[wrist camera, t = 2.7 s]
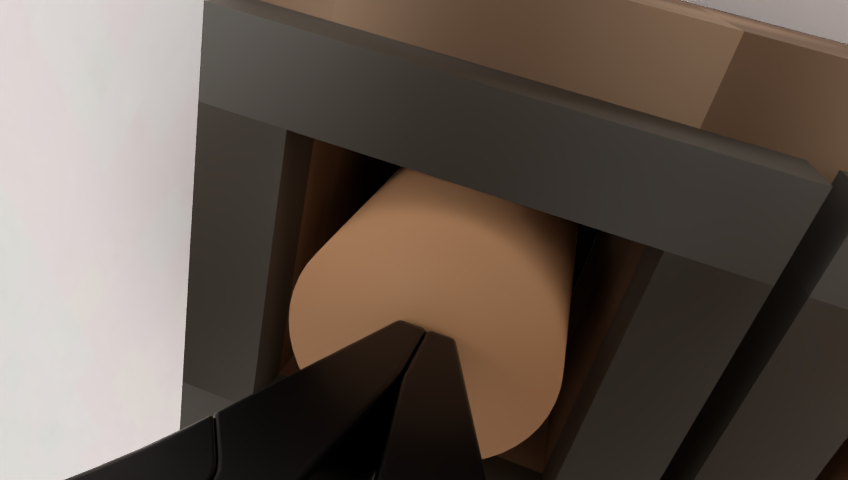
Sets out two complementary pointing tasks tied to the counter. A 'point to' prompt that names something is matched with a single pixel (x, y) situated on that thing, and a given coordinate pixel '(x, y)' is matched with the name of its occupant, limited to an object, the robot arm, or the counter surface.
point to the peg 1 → (451, 293)
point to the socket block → (552, 207)
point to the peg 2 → (836, 465)
